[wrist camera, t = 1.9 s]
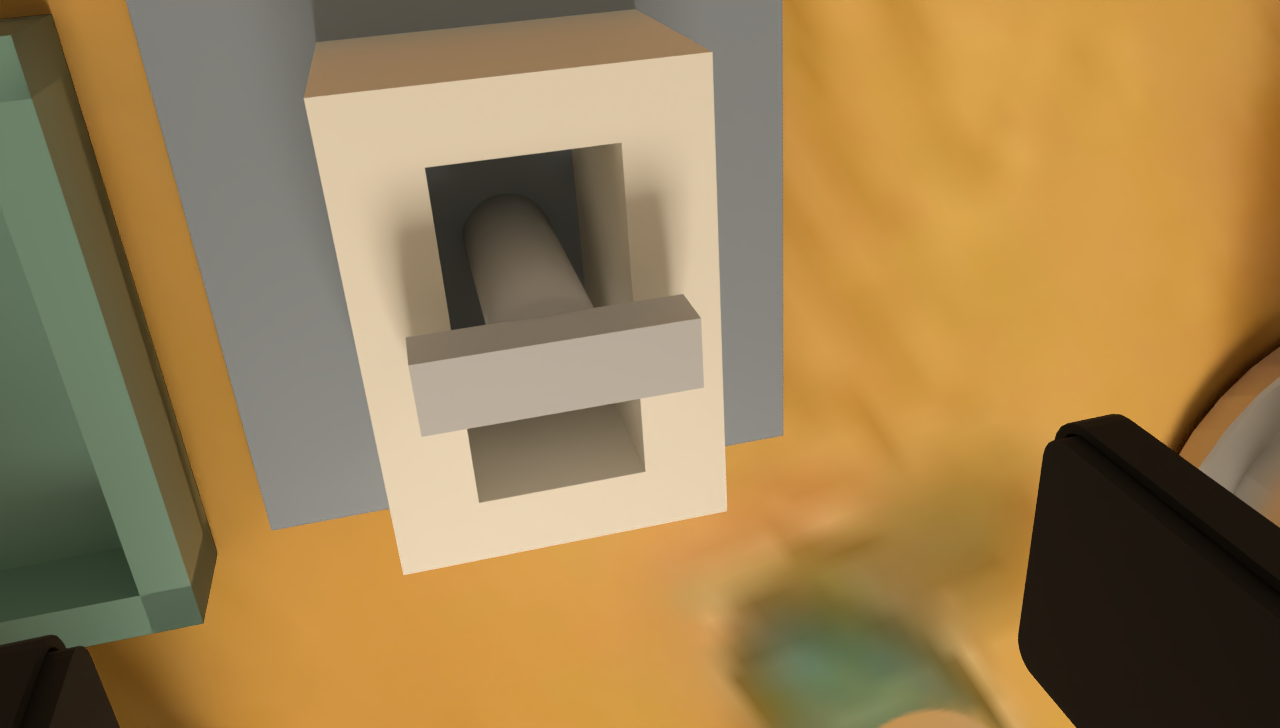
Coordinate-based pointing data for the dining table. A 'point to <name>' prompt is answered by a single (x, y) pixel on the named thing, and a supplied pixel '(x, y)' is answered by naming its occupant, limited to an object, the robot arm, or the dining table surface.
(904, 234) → the dining table surface
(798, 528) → the dining table surface
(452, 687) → the dining table surface
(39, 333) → the tray
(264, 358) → the grey plate with peg
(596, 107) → the white hollow rectangular block
